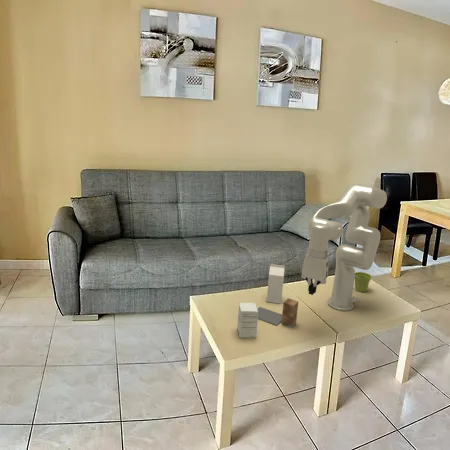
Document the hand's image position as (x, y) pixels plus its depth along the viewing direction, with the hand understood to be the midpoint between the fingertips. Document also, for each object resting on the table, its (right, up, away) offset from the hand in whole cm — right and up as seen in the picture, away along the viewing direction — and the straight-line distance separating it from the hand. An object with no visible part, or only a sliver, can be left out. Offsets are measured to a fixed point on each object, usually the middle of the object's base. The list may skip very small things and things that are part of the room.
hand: (311, 293), depth 165 cm
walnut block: (-8, -16, +10) cm, 20 cm away
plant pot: (+38, -7, +49) cm, 62 cm away
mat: (-17, -13, +16) cm, 27 cm away
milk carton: (-12, -9, +32) cm, 35 cm away
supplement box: (-28, -17, +1) cm, 33 cm away
